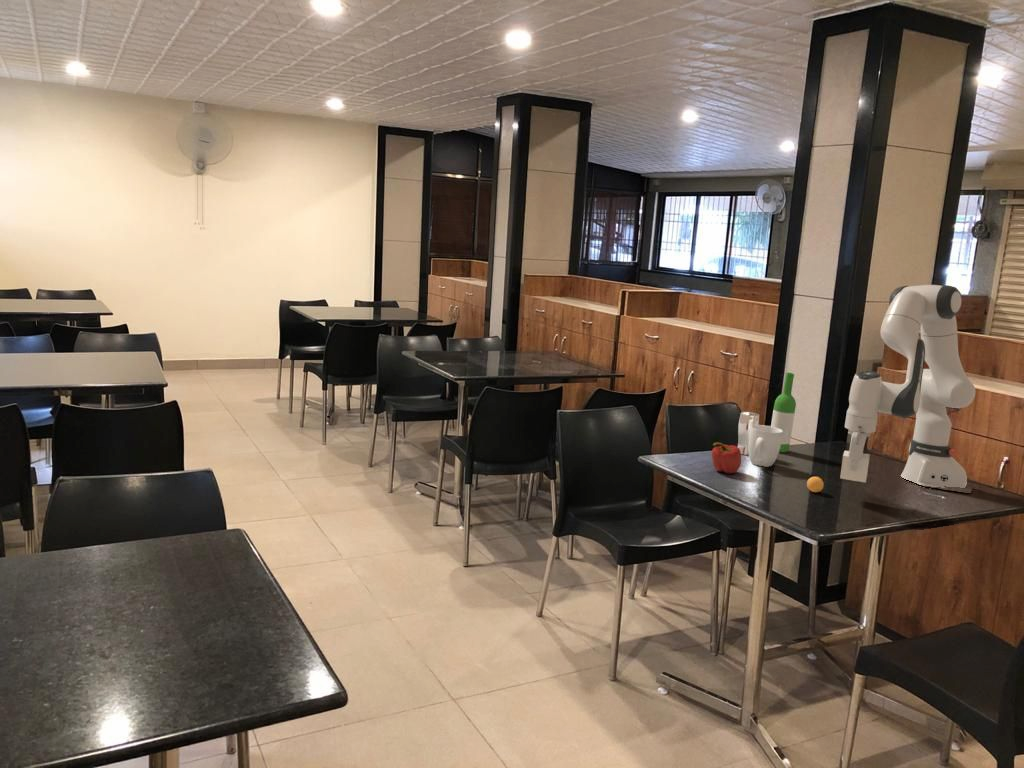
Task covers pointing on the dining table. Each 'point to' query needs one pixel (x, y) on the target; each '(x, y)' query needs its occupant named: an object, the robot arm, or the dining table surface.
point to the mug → (764, 444)
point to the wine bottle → (785, 412)
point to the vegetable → (726, 458)
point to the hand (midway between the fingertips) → (854, 467)
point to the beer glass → (746, 430)
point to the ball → (815, 484)
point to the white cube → (861, 468)
